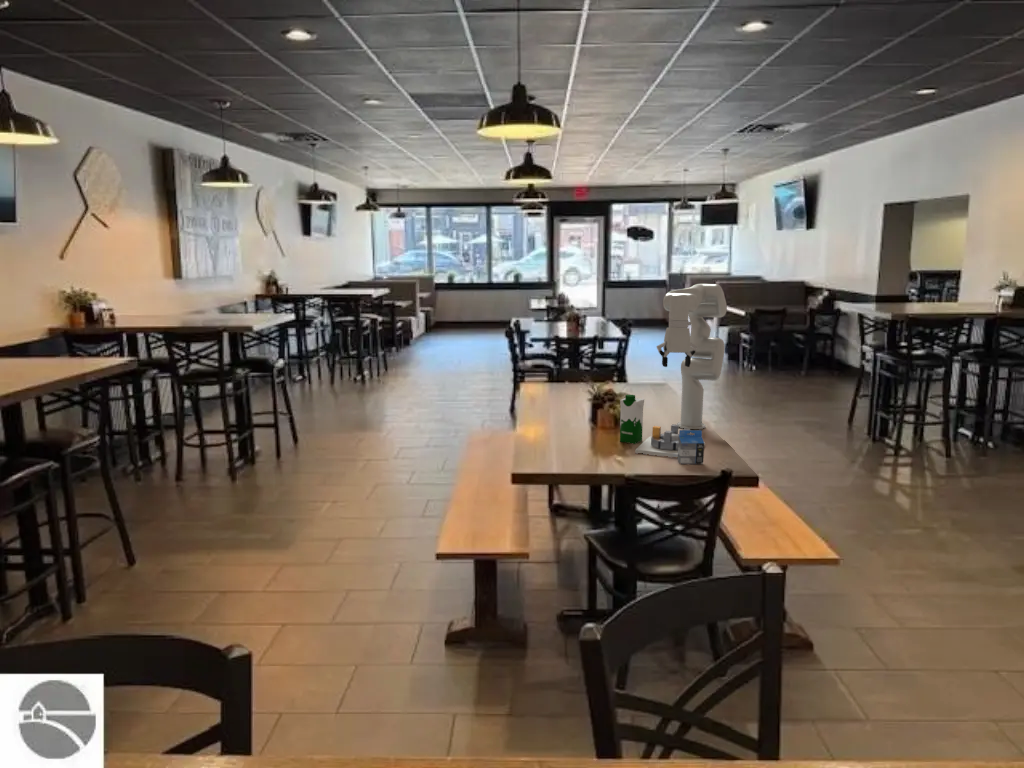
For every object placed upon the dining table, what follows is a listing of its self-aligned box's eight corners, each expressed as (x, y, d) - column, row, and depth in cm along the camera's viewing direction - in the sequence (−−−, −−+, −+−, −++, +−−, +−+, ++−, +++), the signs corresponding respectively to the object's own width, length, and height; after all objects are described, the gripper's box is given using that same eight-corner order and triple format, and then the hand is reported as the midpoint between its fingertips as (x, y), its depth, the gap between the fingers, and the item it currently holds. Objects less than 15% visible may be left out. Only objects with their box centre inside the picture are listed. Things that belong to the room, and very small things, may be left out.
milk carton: (616, 441, 308) (618, 395, 304) (626, 437, 315) (627, 391, 311) (636, 445, 303) (637, 397, 299) (645, 440, 310) (646, 394, 306)
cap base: (649, 439, 311) (650, 425, 310) (704, 445, 302) (705, 431, 301) (635, 453, 290) (635, 438, 289) (693, 460, 281) (694, 444, 280)
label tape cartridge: (679, 464, 275) (681, 432, 273) (677, 461, 279) (678, 430, 277) (703, 464, 275) (705, 432, 273) (700, 461, 279) (702, 430, 277)
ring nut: (656, 439, 306) (657, 422, 304) (693, 442, 299) (694, 426, 298) (647, 447, 292) (648, 430, 291) (685, 451, 286) (686, 434, 285)
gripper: (694, 324, 303) (692, 365, 305) (654, 324, 300) (652, 365, 302) (702, 325, 295) (699, 367, 298) (661, 325, 292) (659, 367, 295)
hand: (676, 366), depth 300 cm, fingers open, 9 cm apart
